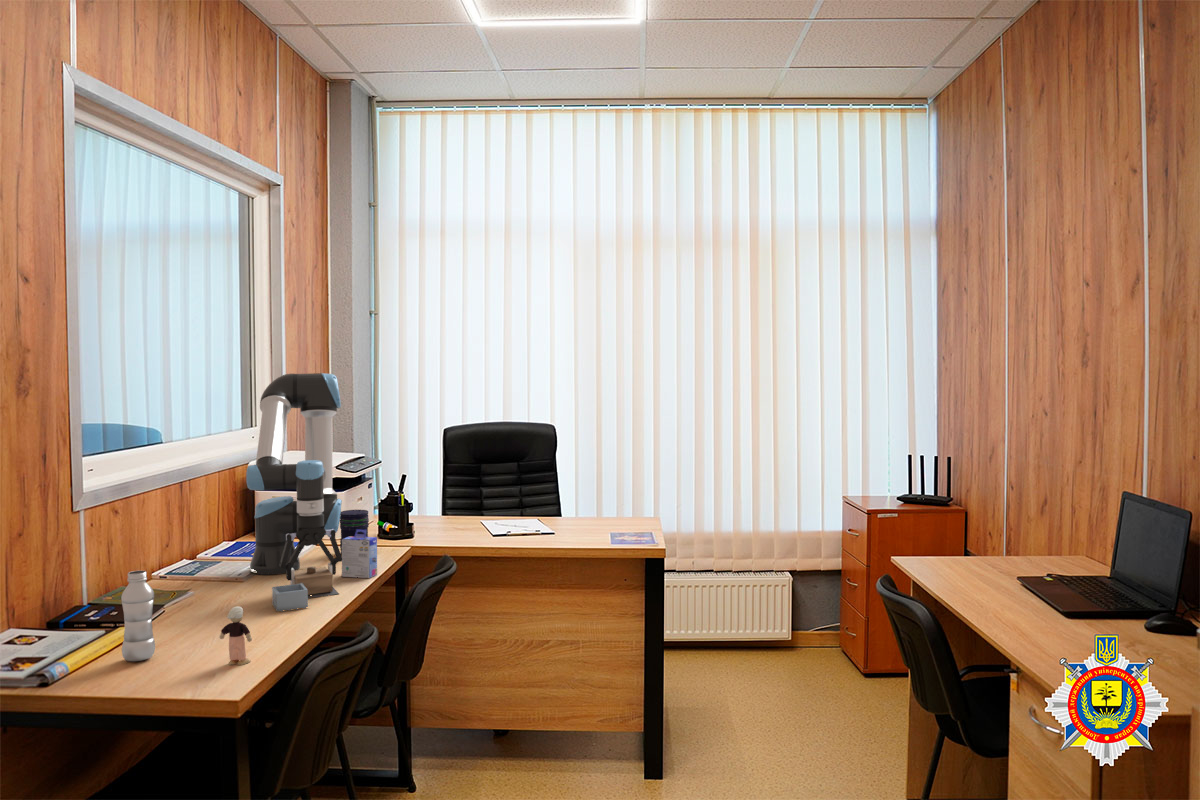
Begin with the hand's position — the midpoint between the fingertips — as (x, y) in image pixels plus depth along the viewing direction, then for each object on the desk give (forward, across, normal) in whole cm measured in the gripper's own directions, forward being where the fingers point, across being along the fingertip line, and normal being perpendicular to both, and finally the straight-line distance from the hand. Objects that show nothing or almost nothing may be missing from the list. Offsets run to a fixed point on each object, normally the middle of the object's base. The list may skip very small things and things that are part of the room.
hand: (311, 588), depth 245 cm
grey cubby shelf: (+1, -8, -12) cm, 15 cm away
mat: (+1, 0, 0) cm, 1 cm away
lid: (0, 0, 0) cm, 0 cm away
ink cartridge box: (+2, +17, +12) cm, 21 cm away
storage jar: (+2, +23, +44) cm, 49 cm away
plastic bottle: (+1, -45, -39) cm, 60 cm away
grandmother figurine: (0, -26, -52) cm, 59 cm away
